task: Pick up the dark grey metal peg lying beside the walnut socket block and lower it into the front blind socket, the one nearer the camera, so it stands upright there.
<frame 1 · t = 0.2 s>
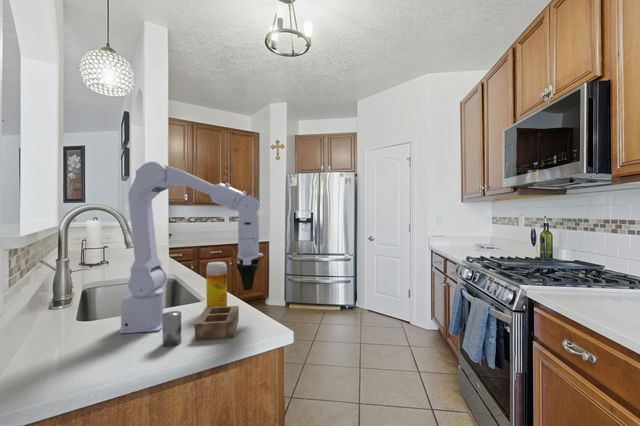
hand: (248, 286, 86), 10 cm above the countertop, tool pointing down, fingers open, 7 cm apart
beer glass: (217, 311, 96), on the countertop
peg: (172, 343, 72), on the countertop
socket block: (218, 329, 81), on the countertop
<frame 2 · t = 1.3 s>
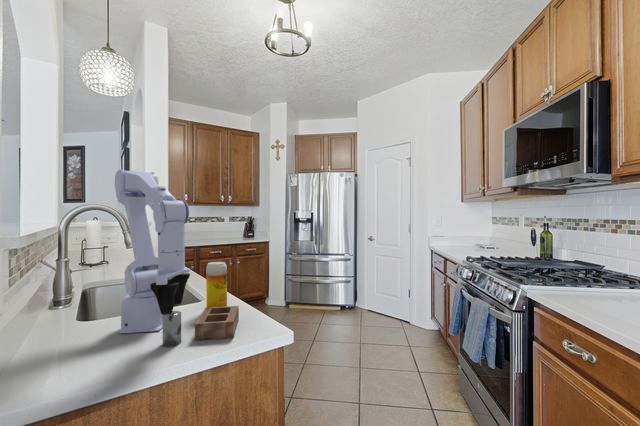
hand: (172, 308, 72), 8 cm above the countertop, tool pointing down, fingers open, 7 cm apart
nothing on the countertop moved.
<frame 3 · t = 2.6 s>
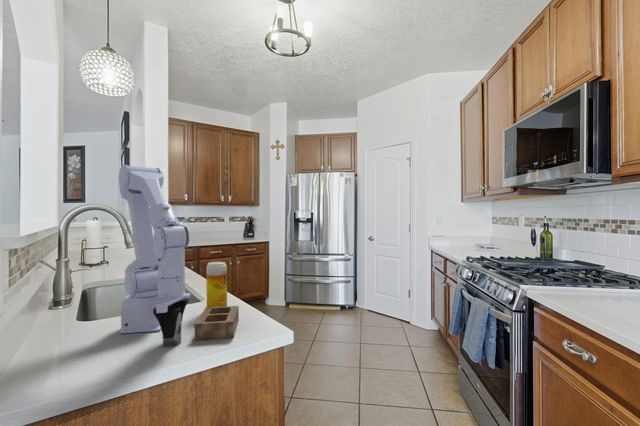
hand: (172, 333, 72), 2 cm above the countertop, tool pointing down, fingers closed on peg, 4 cm apart
peg: (172, 343, 72), on the countertop, touching gripper
everything else where it was.
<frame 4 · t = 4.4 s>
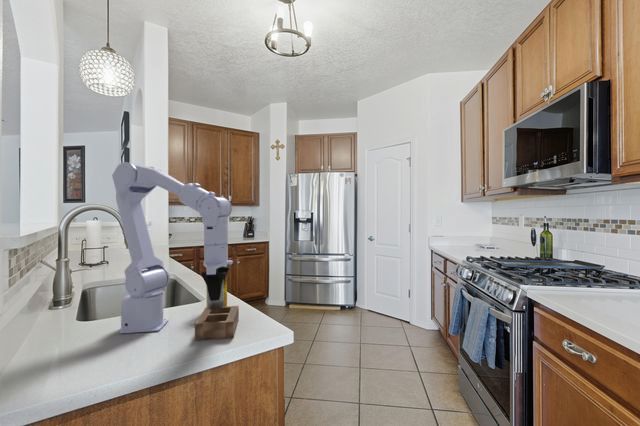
hand: (216, 297, 78), 9 cm above the countertop, tool pointing down, fingers closed on peg, 4 cm apart
peg: (215, 307, 78), point 7 cm above the countertop, touching gripper
everything else where it was.
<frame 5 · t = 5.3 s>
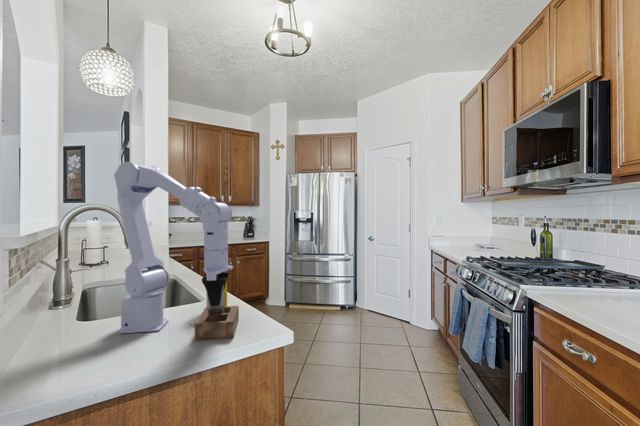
hand: (216, 302, 78), 8 cm above the countertop, tool pointing down, fingers closed on peg, 4 cm apart
peg: (215, 312, 78), point 5 cm above the countertop, touching gripper
everything else where it was.
when the fingers open (5 cm above the countertop, at t = 6.3 s): peg drops 2 cm, resting on socket block.
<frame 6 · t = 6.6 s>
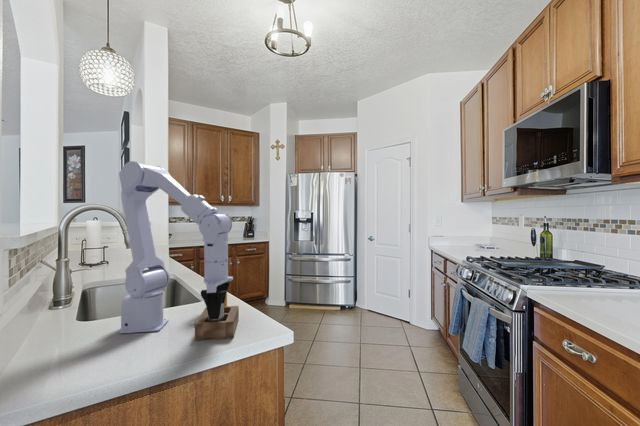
hand: (216, 314, 78), 5 cm above the countertop, tool pointing down, fingers open, 7 cm apart
peg: (215, 331, 78), resting on socket block
everything else where it was.
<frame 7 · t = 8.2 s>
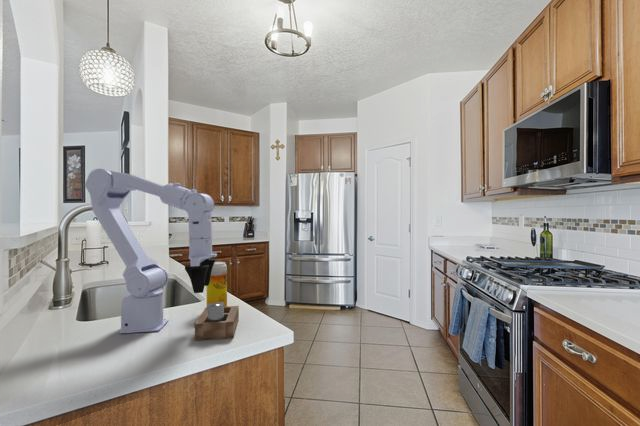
hand: (201, 288, 82), 10 cm above the countertop, tool pointing down, fingers open, 7 cm apart
nothing on the countertop moved.
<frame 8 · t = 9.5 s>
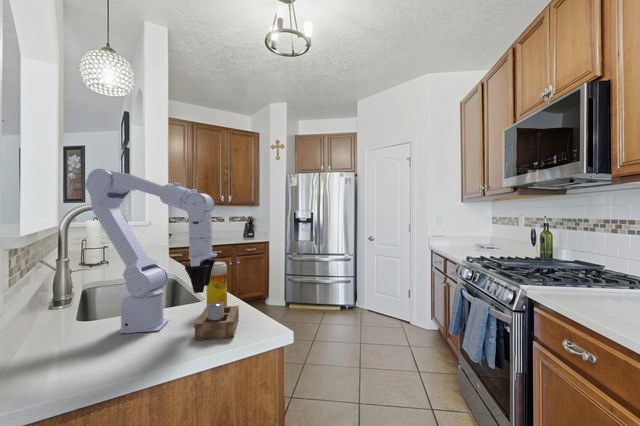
hand: (201, 288, 82), 10 cm above the countertop, tool pointing down, fingers open, 7 cm apart
nothing on the countertop moved.
at the end: peg 0.2 cm from the target spot on the socket block, point 0.5 cm above the socket block's base; peg tilted 0°; the gripper is holding nothing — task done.
